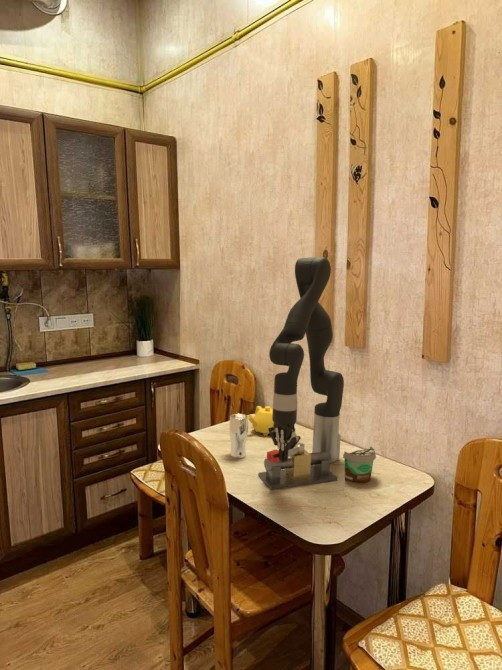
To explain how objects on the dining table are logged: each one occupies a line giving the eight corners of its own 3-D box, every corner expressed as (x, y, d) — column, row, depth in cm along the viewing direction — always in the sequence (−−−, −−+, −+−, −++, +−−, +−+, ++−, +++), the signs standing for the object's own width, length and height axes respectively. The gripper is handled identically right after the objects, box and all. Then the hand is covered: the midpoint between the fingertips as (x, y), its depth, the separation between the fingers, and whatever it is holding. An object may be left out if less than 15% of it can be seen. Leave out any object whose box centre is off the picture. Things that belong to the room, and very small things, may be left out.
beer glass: (245, 459, 170) (246, 420, 168) (226, 457, 171) (227, 418, 169) (248, 452, 177) (250, 414, 175) (231, 450, 178) (232, 412, 176)
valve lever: (298, 449, 157) (299, 441, 157) (306, 452, 155) (306, 445, 154) (265, 459, 148) (266, 451, 148) (273, 463, 145) (273, 455, 145)
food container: (353, 487, 150) (355, 458, 149) (341, 480, 156) (343, 451, 154) (382, 480, 156) (384, 452, 155) (369, 473, 161) (371, 446, 160)
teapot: (274, 422, 212) (274, 398, 211) (298, 434, 197) (299, 409, 196) (236, 429, 202) (237, 404, 200) (259, 443, 187) (259, 416, 185)
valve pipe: (321, 466, 166) (322, 442, 164) (337, 480, 155) (338, 454, 154) (258, 475, 157) (259, 450, 156) (270, 490, 147) (271, 463, 146)
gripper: (308, 409, 141) (306, 464, 143) (279, 400, 151) (278, 452, 153) (290, 413, 136) (288, 470, 138) (262, 403, 147) (260, 456, 149)
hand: (283, 460), depth 146 cm, fingers closed
